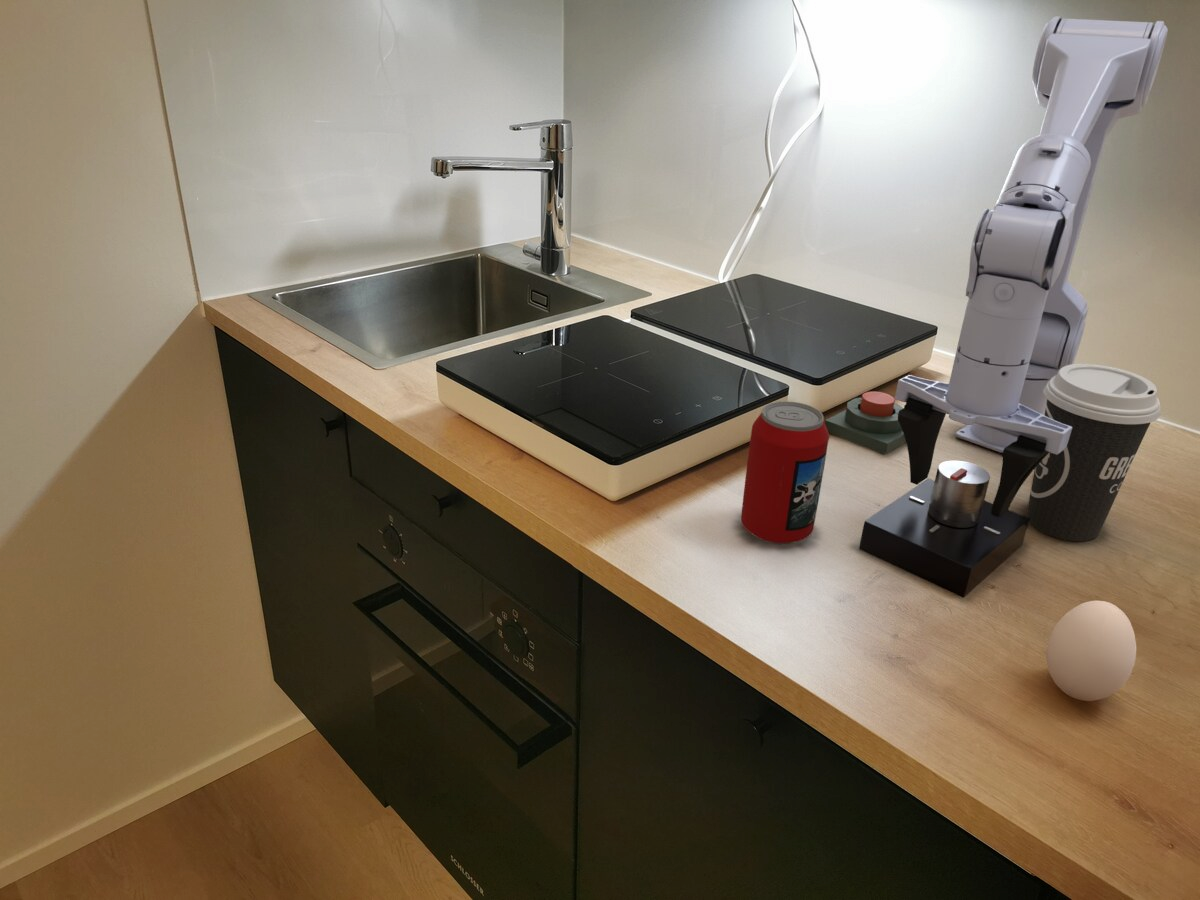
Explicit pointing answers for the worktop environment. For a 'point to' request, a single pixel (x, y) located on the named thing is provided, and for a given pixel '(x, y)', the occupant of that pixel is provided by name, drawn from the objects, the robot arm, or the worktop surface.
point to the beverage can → (784, 472)
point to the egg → (1091, 651)
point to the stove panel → (941, 541)
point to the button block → (867, 428)
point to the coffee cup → (1089, 447)
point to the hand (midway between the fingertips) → (957, 495)
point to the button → (877, 404)
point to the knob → (958, 493)
